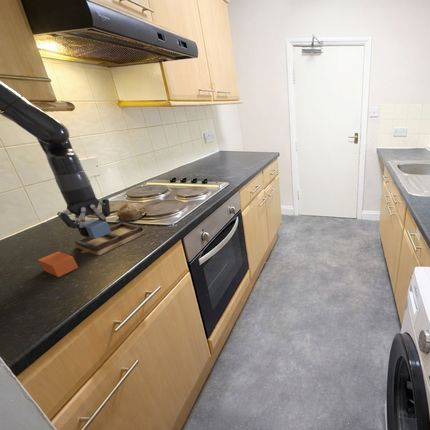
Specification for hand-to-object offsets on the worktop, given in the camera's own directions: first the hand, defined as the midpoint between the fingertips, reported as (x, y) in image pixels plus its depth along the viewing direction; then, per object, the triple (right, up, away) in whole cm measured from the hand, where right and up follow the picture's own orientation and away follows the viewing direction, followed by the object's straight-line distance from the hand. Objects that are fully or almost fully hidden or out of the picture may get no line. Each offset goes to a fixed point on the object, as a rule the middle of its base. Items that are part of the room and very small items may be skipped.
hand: (95, 232), depth 91 cm
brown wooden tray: (+2, -3, +5) cm, 6 cm away
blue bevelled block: (0, 0, 0) cm, 0 cm away
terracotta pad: (-2, -11, -10) cm, 15 cm away
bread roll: (-4, +5, +23) cm, 24 cm away
